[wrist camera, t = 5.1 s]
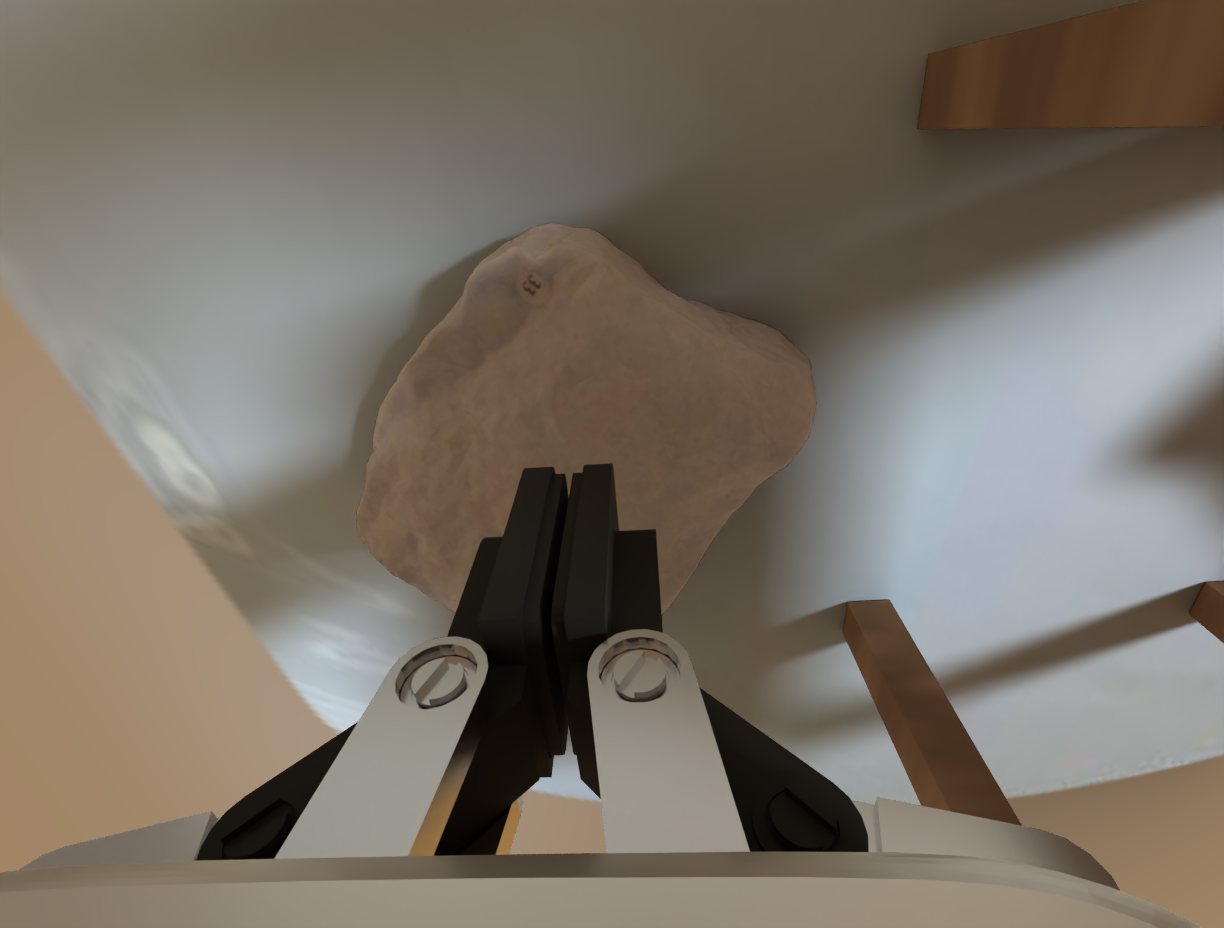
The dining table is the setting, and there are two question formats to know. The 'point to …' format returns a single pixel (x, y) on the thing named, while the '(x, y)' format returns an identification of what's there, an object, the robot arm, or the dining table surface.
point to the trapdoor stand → (1037, 98)
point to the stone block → (577, 410)
